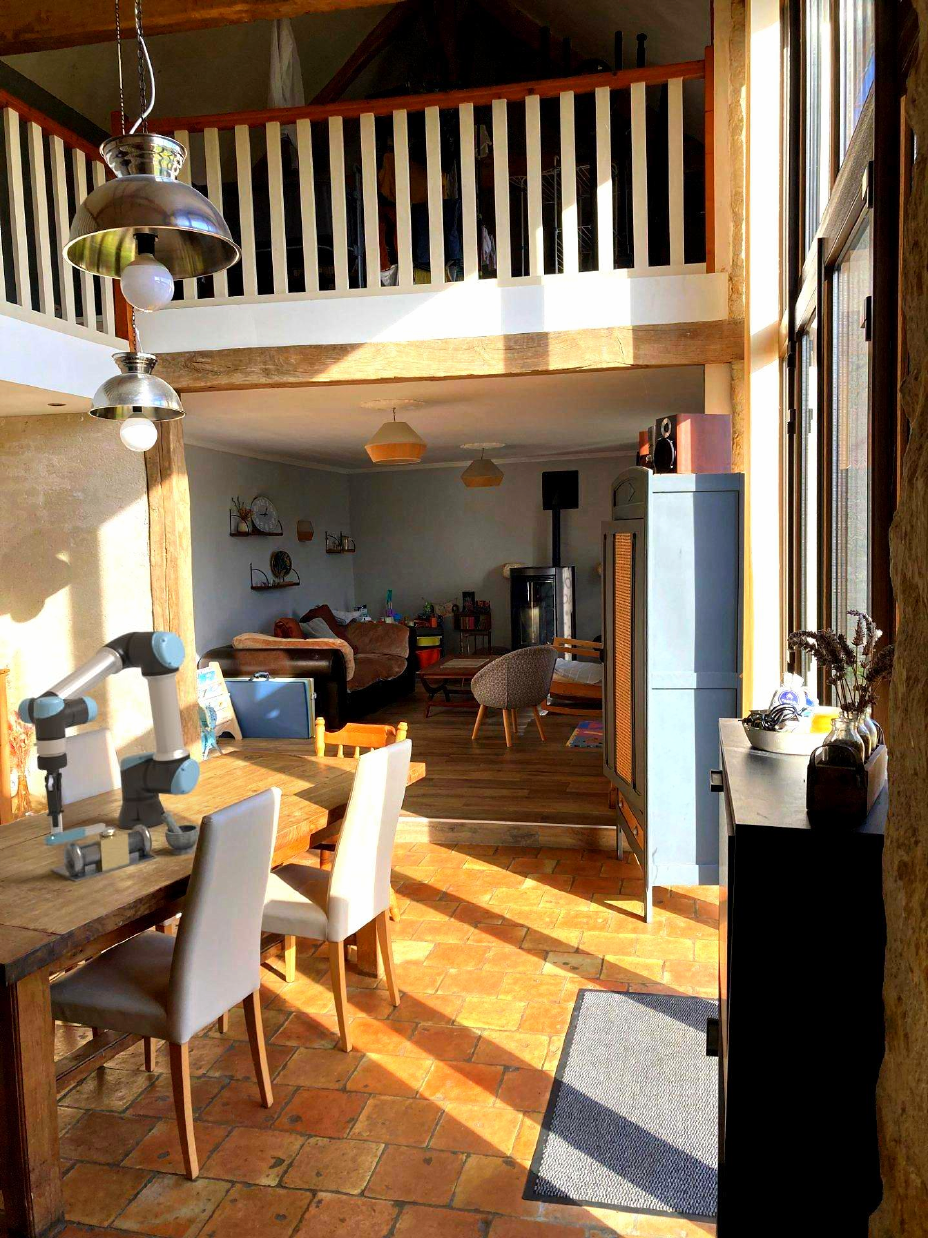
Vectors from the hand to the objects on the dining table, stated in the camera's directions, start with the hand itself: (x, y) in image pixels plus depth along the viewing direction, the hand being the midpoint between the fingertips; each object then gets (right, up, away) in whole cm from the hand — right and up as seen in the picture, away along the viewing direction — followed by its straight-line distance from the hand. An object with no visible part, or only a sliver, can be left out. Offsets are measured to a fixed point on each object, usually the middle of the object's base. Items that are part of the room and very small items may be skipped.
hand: (57, 837), depth 255 cm
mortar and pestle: (+28, -9, +20) cm, 36 cm away
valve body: (+9, -10, +11) cm, 17 cm away
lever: (+6, -1, +2) cm, 6 cm away
